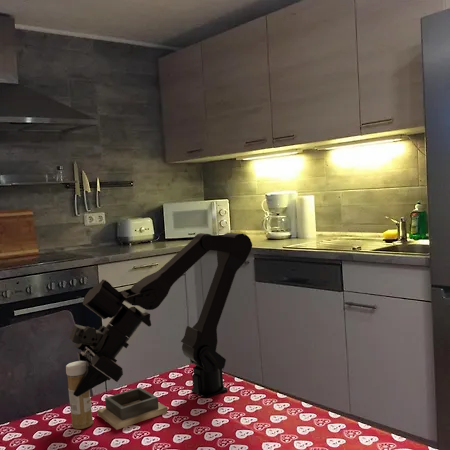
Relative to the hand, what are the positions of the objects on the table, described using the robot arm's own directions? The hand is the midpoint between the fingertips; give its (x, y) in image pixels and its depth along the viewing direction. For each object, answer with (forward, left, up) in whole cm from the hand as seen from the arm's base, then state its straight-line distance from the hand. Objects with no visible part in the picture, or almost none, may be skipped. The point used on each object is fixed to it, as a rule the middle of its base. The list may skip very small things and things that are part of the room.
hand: (72, 392), depth 116 cm
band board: (-12, +3, -8) cm, 14 cm away
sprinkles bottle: (-1, 0, -8) cm, 8 cm away
